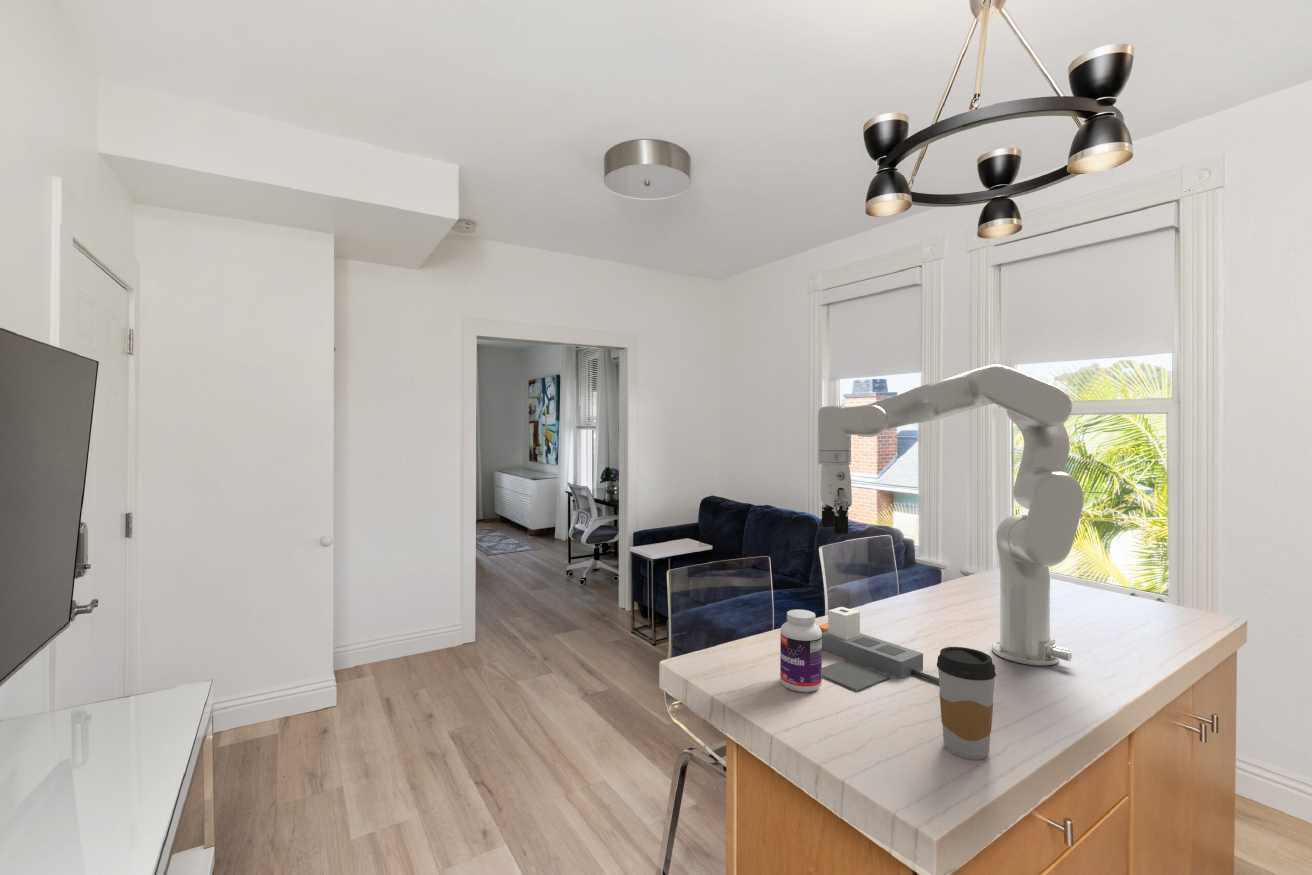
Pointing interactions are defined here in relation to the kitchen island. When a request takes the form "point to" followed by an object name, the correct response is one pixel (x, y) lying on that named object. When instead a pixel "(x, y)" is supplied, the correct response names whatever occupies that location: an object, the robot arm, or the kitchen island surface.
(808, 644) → the pill bottle
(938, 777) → the kitchen island surface
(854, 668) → the mat
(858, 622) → the block
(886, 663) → the power strip
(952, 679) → the coffee cup
